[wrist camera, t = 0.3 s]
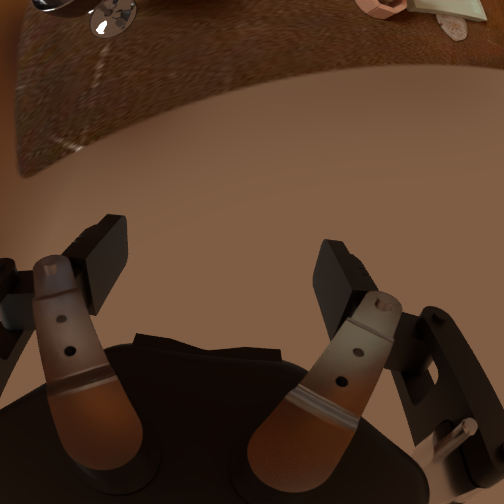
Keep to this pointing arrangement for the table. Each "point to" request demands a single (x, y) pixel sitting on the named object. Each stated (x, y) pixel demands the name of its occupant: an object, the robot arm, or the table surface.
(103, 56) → the table surface
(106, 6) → the wine glass
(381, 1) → the beech pin
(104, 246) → the robot arm
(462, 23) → the flatbread
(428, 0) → the sage tray
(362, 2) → the pin holder cup
